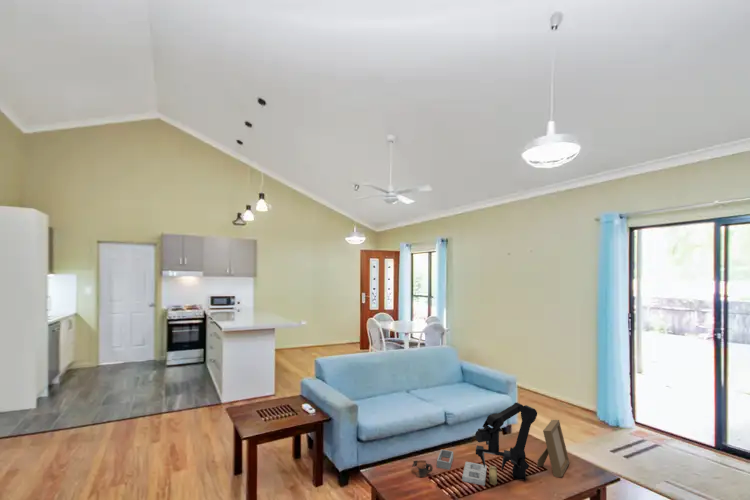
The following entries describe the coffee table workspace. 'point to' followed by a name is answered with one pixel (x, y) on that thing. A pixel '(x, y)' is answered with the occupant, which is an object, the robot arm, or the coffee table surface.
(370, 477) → the coffee table surface
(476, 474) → the plate
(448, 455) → the gray hollow rectangular block
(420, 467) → the pottery mug
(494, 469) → the pale yellow rod
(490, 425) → the robot arm
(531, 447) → the coffee table surface
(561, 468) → the photo frame
